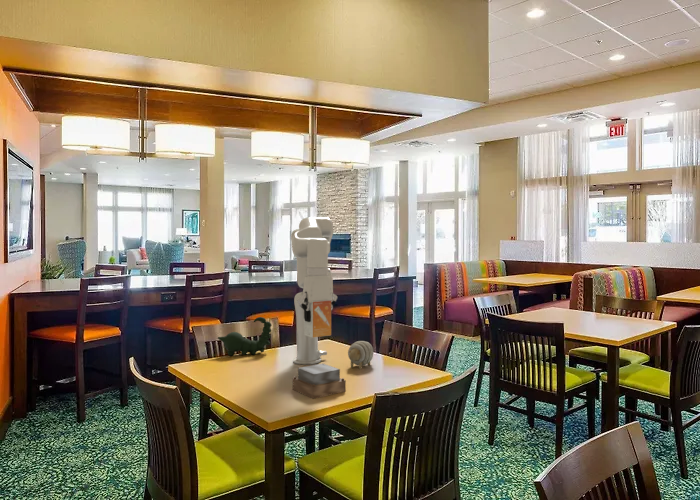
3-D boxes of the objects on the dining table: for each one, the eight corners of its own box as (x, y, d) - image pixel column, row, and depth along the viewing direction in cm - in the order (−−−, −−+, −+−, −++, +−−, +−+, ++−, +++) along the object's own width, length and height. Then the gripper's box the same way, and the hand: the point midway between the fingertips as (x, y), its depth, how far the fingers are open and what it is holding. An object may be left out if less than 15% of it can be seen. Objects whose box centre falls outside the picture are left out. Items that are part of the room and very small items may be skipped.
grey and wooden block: (324, 382, 198) (324, 362, 197) (345, 391, 186) (345, 369, 186) (292, 389, 189) (292, 367, 189) (313, 398, 178) (312, 375, 178)
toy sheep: (341, 369, 218) (341, 343, 217) (358, 360, 233) (358, 336, 232) (364, 372, 213) (363, 345, 213) (380, 363, 228) (380, 338, 228)
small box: (312, 338, 183) (312, 301, 182) (303, 335, 188) (303, 299, 187) (331, 335, 187) (331, 299, 187) (322, 332, 193) (322, 298, 192)
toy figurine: (267, 354, 255) (215, 353, 248) (270, 316, 255) (218, 314, 248) (270, 358, 246) (216, 357, 239) (273, 318, 246) (219, 316, 239)
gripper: (331, 270, 195) (331, 316, 195) (291, 273, 185) (292, 321, 185) (343, 271, 189) (343, 319, 189) (302, 274, 179) (302, 324, 179)
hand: (318, 319), depth 187 cm, fingers closed on small box, 8 cm apart
